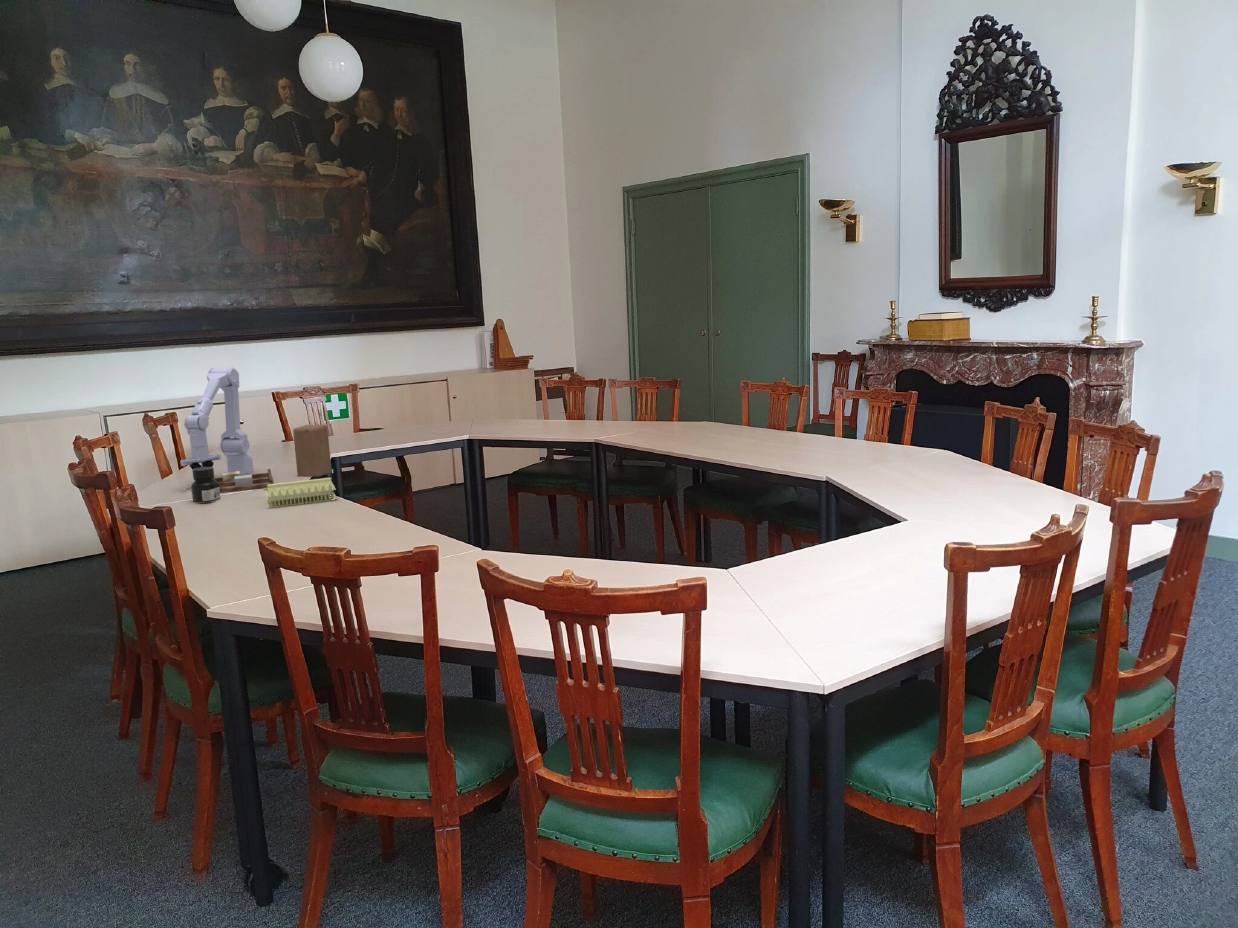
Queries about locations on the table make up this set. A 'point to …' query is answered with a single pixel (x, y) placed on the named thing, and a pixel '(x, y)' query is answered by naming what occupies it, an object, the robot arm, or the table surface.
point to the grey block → (243, 480)
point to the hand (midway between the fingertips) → (203, 481)
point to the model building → (299, 492)
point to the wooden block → (312, 450)
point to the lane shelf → (258, 483)
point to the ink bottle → (204, 485)
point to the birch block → (230, 476)
